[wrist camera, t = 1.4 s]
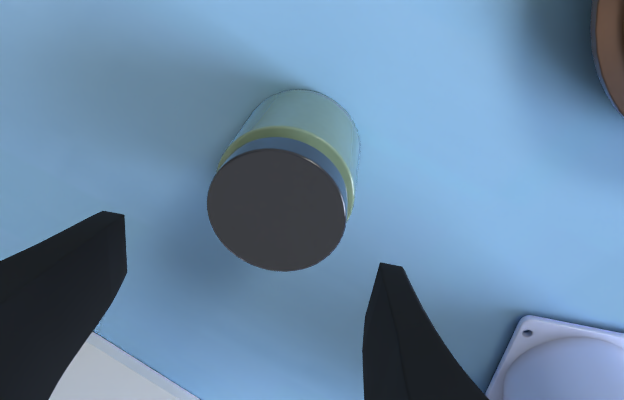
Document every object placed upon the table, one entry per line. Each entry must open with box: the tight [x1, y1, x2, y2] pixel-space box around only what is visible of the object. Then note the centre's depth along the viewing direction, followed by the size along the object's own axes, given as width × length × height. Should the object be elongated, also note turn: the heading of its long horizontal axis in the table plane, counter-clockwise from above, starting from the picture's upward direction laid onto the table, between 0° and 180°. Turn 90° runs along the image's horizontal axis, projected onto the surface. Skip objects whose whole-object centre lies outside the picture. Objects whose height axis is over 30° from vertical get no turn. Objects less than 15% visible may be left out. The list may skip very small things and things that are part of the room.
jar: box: [207, 90, 360, 272], centre depth 21 cm, size 6×6×6 cm
